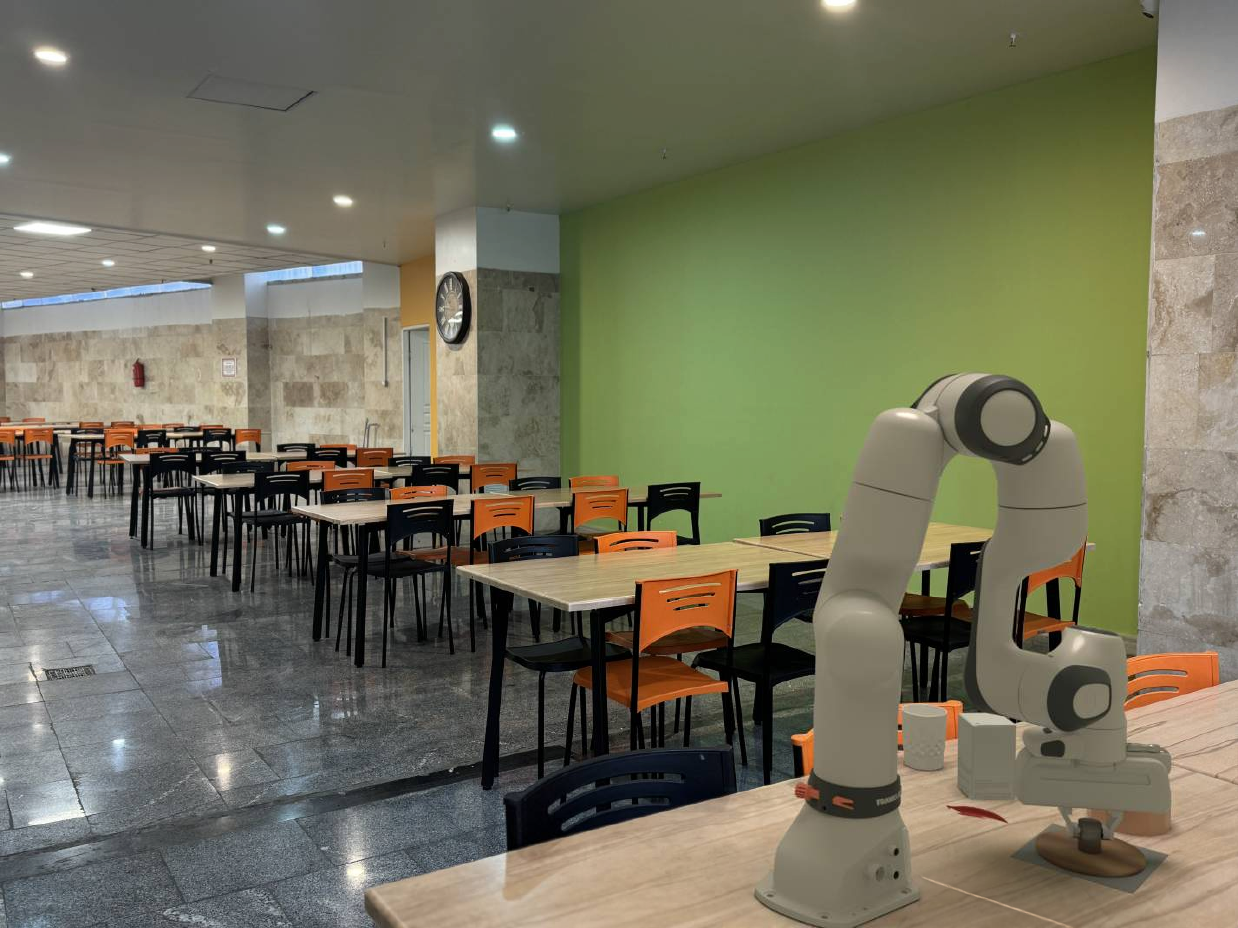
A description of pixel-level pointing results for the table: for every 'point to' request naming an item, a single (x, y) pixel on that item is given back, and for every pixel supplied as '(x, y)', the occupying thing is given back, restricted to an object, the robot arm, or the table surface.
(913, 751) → the white cup
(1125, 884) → the mat
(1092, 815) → the bowl
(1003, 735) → the supplement box
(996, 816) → the red feather
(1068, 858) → the lid
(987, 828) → the table surface
